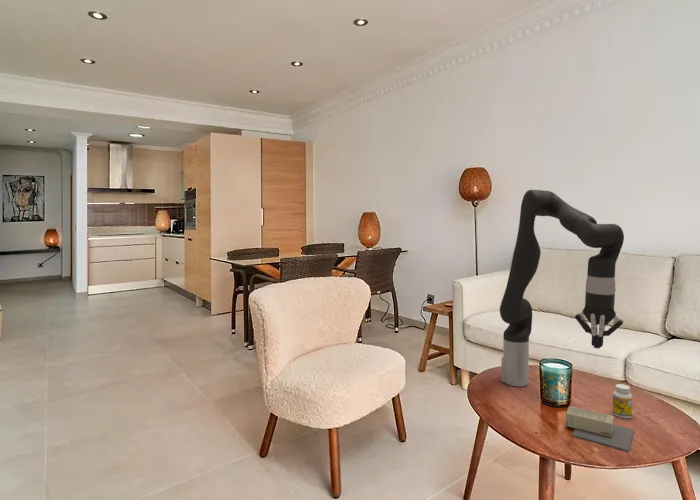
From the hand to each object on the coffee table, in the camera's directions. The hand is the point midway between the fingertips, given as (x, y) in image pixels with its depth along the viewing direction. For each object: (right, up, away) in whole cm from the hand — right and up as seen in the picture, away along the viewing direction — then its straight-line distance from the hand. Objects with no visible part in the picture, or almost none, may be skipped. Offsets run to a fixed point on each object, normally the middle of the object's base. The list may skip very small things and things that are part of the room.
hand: (597, 347), depth 126 cm
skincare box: (-7, -23, +5) cm, 24 cm away
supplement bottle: (+14, -25, +10) cm, 30 cm away
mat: (+1, -26, -1) cm, 26 cm away
